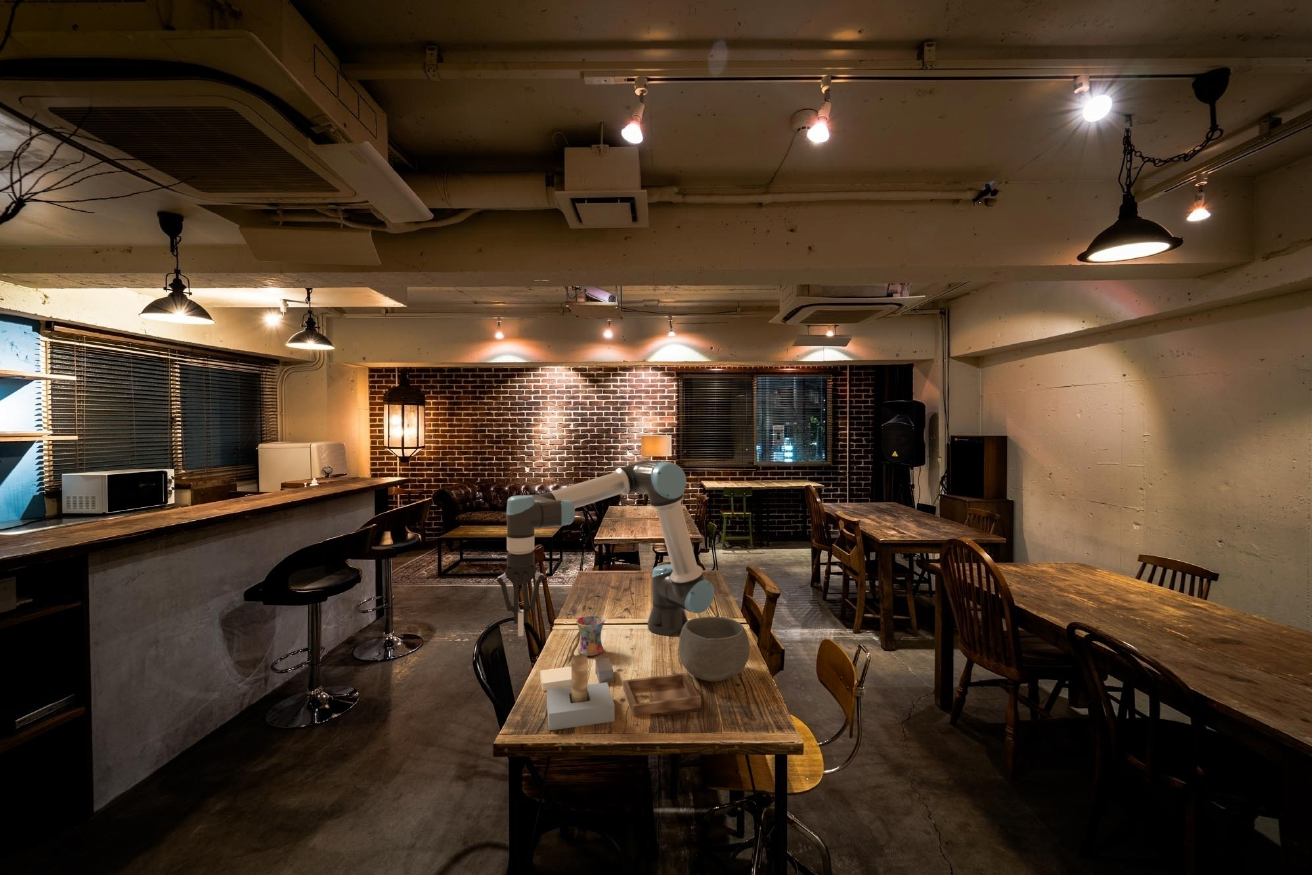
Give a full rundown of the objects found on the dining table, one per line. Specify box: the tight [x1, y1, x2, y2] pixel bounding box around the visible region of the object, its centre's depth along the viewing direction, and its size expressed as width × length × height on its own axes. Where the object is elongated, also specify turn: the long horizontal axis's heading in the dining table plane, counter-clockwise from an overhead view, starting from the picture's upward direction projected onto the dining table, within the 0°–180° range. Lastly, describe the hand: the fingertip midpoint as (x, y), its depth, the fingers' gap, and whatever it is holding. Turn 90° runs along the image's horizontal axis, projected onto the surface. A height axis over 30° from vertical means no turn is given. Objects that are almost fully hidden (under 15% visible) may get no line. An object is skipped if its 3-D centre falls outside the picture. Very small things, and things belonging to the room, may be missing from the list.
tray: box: [622, 672, 702, 717], centre depth 140 cm, size 18×14×4 cm
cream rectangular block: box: [539, 665, 572, 692], centre depth 149 cm, size 10×8×4 cm
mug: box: [575, 615, 606, 657], centre depth 173 cm, size 12×9×11 cm
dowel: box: [570, 654, 588, 703], centre depth 133 cm, size 4×4×14 cm
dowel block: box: [546, 682, 616, 731], centre depth 133 cm, size 16×12×5 cm
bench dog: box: [595, 657, 614, 684], centre depth 153 cm, size 4×8×4 cm, turn 14°
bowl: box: [678, 616, 751, 682], centre depth 155 cm, size 21×21×15 cm
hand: (520, 634), depth 147 cm, fingers closed
